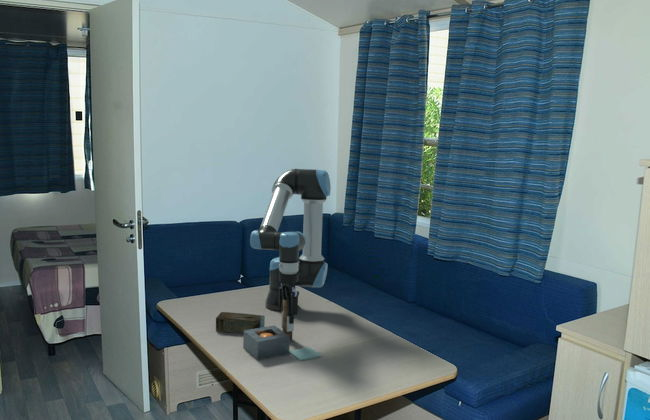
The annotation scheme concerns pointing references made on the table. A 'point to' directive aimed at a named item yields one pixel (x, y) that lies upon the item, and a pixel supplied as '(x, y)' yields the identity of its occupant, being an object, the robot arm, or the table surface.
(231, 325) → the beverage carton
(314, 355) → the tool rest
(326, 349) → the table surface
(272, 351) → the box
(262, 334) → the button
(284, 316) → the brown rounded rod
